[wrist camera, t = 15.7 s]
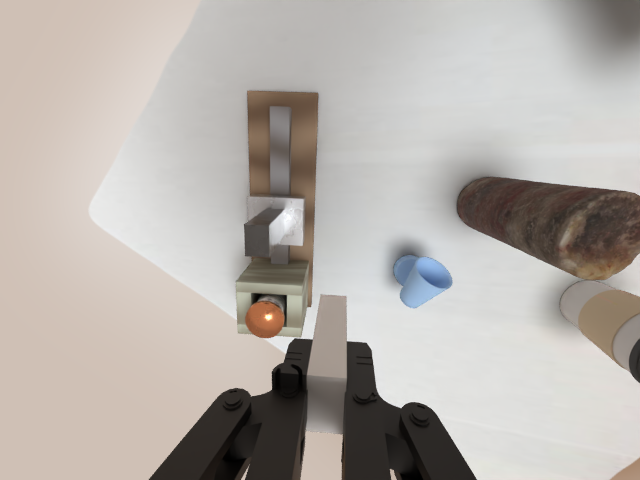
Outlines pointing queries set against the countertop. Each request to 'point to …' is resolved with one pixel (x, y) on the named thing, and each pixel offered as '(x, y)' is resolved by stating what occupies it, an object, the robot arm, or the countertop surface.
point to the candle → (557, 223)
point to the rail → (299, 155)
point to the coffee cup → (606, 320)
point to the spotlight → (420, 279)
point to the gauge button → (266, 315)
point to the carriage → (273, 223)
